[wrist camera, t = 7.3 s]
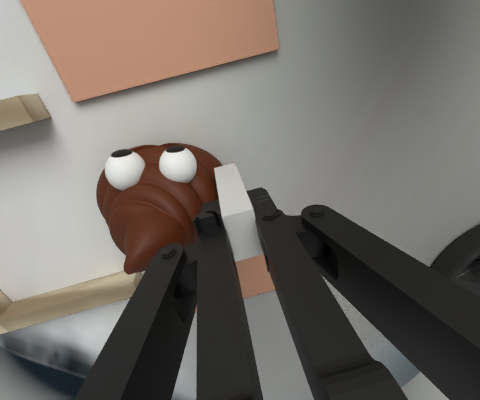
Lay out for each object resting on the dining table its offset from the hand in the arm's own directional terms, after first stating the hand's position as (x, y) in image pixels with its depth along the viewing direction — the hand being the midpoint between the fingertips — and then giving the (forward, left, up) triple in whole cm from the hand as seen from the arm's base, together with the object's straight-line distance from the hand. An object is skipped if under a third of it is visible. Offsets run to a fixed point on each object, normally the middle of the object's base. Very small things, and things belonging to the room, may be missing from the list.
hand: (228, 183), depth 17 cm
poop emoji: (0, +5, -3) cm, 6 cm away
